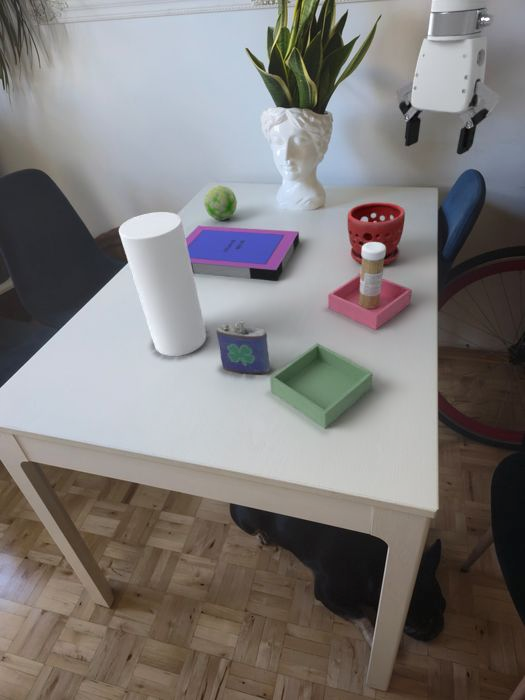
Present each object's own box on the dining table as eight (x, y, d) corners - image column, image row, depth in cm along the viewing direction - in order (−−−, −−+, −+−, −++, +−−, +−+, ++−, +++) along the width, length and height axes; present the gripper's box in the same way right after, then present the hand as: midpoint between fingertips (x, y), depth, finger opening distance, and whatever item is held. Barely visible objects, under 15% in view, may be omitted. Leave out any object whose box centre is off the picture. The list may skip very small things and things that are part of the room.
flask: (271, 366, 81) (266, 319, 74) (267, 377, 79) (262, 330, 72) (225, 360, 83) (216, 315, 77) (220, 371, 81) (210, 325, 74)
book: (198, 225, 126) (298, 231, 118) (200, 235, 128) (299, 241, 119) (164, 260, 111) (276, 270, 103) (166, 270, 113) (276, 281, 104)
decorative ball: (229, 226, 131) (224, 193, 125) (201, 223, 135) (195, 191, 129) (244, 213, 138) (240, 181, 131) (217, 210, 142) (212, 179, 135)
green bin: (371, 387, 75) (373, 372, 72) (325, 428, 69) (325, 413, 66) (317, 357, 82) (317, 342, 80) (271, 391, 76) (269, 377, 74)
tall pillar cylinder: (216, 330, 91) (193, 215, 75) (186, 361, 84) (154, 242, 68) (175, 319, 96) (146, 208, 80) (143, 348, 89) (105, 233, 73)
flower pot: (395, 244, 113) (401, 199, 106) (403, 269, 103) (409, 221, 96) (344, 246, 115) (346, 201, 108) (347, 271, 105) (349, 224, 98)
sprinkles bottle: (360, 297, 95) (363, 240, 87) (381, 299, 94) (387, 241, 85) (356, 308, 92) (360, 250, 83) (378, 311, 91) (384, 252, 82)
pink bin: (409, 303, 93) (412, 289, 90) (375, 330, 87) (377, 315, 84) (362, 284, 100) (363, 271, 98) (328, 308, 94) (328, 294, 92)
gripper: (527, 20, 61) (496, 149, 72) (417, 24, 72) (404, 136, 83) (503, 27, 58) (474, 162, 69) (390, 30, 68) (381, 146, 79)
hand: (436, 148), depth 75 cm, fingers open, 9 cm apart
